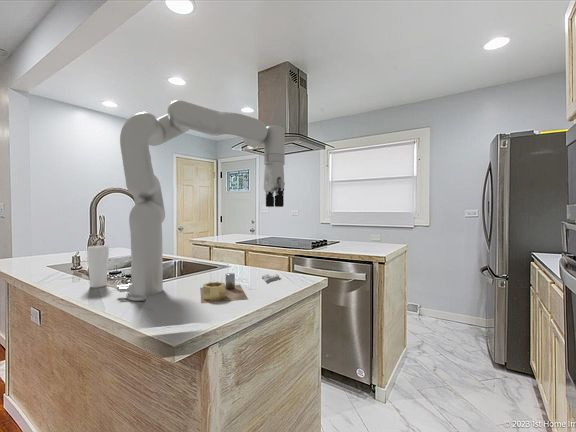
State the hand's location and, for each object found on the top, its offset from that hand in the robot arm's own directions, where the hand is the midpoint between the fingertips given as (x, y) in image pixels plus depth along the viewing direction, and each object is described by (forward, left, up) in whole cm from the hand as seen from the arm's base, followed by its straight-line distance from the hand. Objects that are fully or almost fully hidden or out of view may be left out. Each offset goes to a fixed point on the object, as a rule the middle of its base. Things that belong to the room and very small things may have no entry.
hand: (274, 206), depth 113 cm
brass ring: (-23, -12, -29) cm, 38 cm away
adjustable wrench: (-4, +7, -31) cm, 32 cm away
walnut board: (-20, -8, -30) cm, 37 cm away
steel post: (-17, -3, -29) cm, 33 cm away
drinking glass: (-63, +19, -30) cm, 72 cm away
